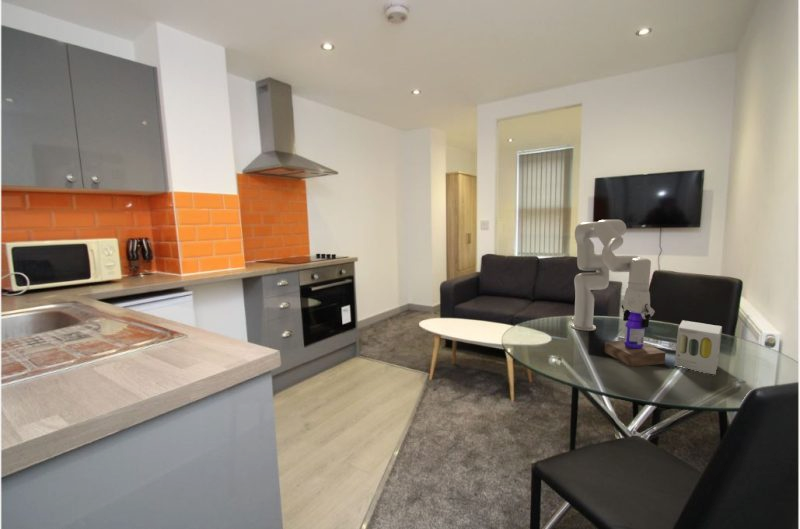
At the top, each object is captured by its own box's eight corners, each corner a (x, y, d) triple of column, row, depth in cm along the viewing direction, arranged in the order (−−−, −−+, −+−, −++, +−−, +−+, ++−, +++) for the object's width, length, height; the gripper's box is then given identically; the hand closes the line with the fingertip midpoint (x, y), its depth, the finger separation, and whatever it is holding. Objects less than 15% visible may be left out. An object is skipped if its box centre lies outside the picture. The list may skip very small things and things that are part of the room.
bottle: (638, 344, 160) (641, 307, 158) (645, 349, 154) (648, 311, 152) (621, 344, 161) (624, 307, 158) (628, 349, 155) (631, 311, 153)
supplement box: (673, 366, 148) (677, 326, 146) (678, 357, 157) (682, 319, 155) (715, 376, 139) (720, 334, 136) (718, 365, 148) (722, 326, 145)
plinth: (604, 352, 165) (605, 342, 164) (634, 349, 167) (635, 339, 166) (631, 366, 149) (632, 355, 148) (664, 363, 151) (665, 352, 151)
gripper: (615, 282, 161) (613, 318, 164) (647, 291, 144) (644, 330, 147) (630, 281, 162) (627, 317, 165) (663, 290, 145) (659, 329, 148)
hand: (635, 323), depth 156 cm, fingers open, 9 cm apart
